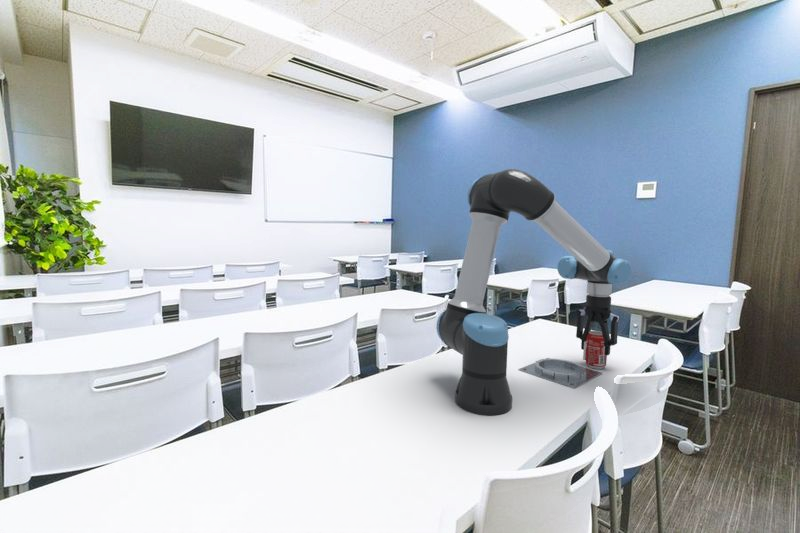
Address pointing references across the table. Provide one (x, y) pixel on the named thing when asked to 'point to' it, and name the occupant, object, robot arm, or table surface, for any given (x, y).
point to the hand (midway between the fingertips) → (594, 361)
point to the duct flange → (561, 372)
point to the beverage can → (595, 350)
